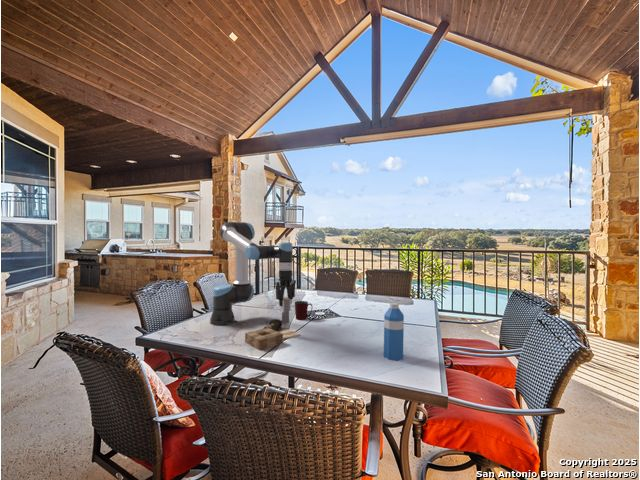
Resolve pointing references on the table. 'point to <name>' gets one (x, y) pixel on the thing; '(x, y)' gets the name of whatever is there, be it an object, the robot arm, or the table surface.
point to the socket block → (263, 338)
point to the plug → (285, 311)
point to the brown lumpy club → (274, 324)
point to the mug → (301, 310)
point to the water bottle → (393, 333)
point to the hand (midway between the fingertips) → (285, 310)
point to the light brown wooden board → (288, 334)
